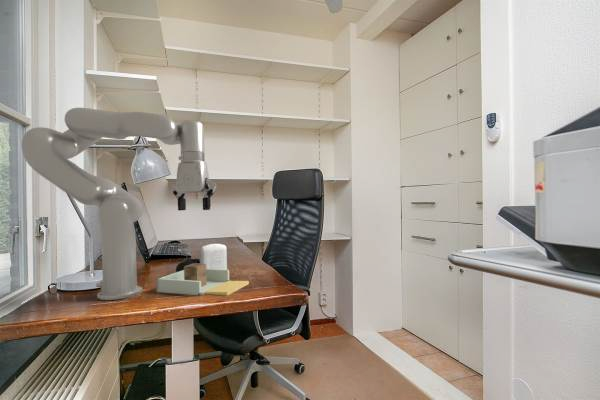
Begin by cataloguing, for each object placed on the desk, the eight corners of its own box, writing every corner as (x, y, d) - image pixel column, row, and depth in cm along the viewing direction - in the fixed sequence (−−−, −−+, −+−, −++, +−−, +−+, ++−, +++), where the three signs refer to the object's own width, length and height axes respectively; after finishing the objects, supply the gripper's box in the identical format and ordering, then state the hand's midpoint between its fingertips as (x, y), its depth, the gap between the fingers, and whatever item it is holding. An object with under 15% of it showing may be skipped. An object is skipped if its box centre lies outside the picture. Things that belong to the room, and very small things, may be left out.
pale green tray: (156, 294, 101) (155, 279, 101) (191, 281, 117) (190, 267, 117) (201, 298, 96) (200, 282, 96) (231, 284, 112) (230, 269, 112)
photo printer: (224, 272, 131) (224, 242, 131) (228, 274, 127) (228, 243, 127) (199, 276, 125) (198, 244, 125) (203, 278, 121) (202, 245, 121)
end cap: (182, 274, 130) (182, 257, 130) (200, 273, 131) (200, 256, 131) (175, 280, 120) (175, 262, 120) (195, 279, 121) (194, 261, 121)
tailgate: (204, 292, 97) (227, 292, 95) (227, 280, 110) (248, 280, 108) (204, 296, 97) (227, 296, 95) (228, 284, 110) (249, 284, 108)
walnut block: (184, 287, 105) (183, 266, 105) (194, 283, 110) (193, 263, 110) (197, 288, 103) (196, 267, 103) (206, 284, 108) (206, 263, 108)
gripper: (163, 159, 106) (164, 210, 106) (208, 155, 100) (209, 210, 100) (178, 161, 113) (180, 210, 113) (221, 158, 107) (223, 209, 107)
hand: (194, 210), depth 106 cm, fingers open, 9 cm apart
